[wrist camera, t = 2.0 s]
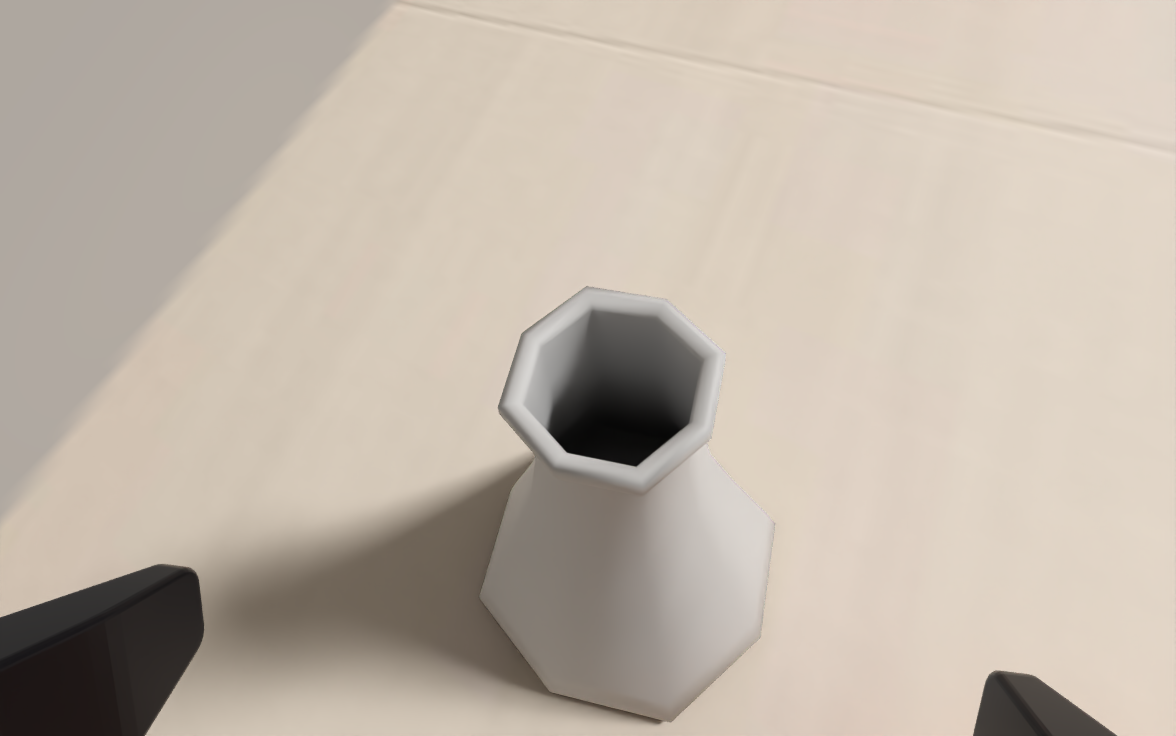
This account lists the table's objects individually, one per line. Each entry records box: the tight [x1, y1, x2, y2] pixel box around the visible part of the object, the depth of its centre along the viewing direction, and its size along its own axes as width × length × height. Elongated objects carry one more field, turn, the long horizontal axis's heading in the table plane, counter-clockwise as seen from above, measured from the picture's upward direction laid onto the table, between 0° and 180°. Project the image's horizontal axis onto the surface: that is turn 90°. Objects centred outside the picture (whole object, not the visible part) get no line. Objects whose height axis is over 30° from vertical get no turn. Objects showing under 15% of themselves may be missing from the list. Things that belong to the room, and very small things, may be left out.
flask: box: [479, 286, 775, 722], centre depth 16 cm, size 7×7×10 cm
